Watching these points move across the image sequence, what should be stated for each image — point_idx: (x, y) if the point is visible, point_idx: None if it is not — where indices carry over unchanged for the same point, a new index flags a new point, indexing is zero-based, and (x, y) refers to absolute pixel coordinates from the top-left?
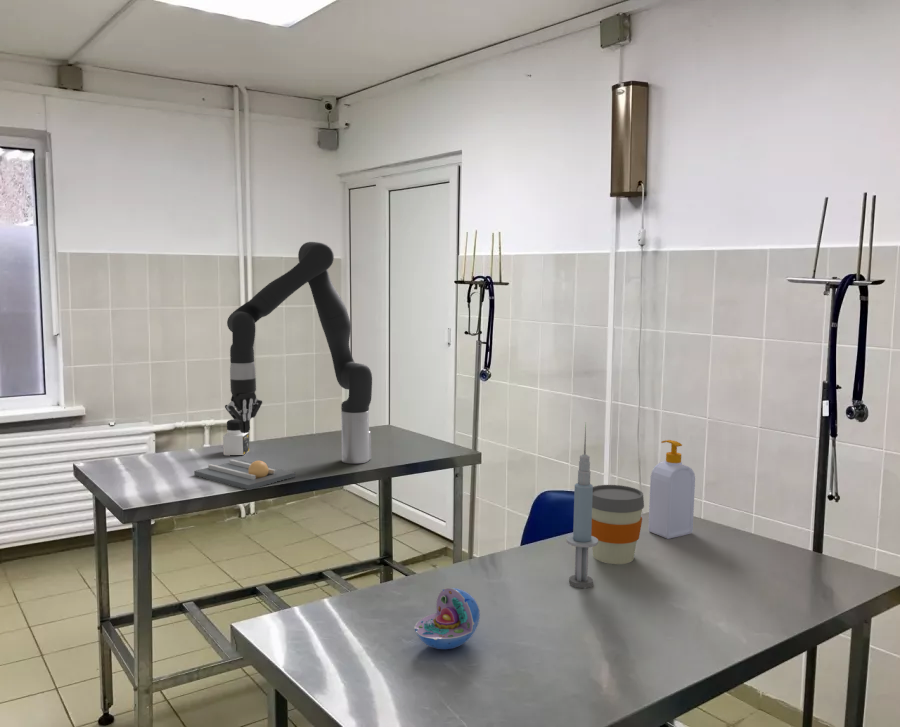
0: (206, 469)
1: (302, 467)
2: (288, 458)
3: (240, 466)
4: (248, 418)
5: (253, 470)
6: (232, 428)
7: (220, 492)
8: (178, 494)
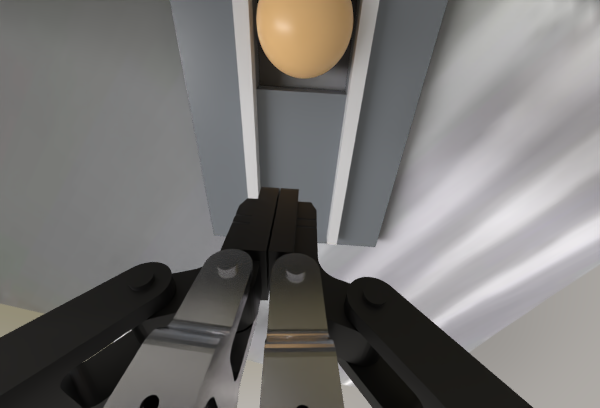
0: (347, 234)
1: (58, 28)
2: (67, 173)
3: (262, 186)
4: (237, 268)
5: (351, 6)
6: None
7: (536, 4)
8: (587, 125)
